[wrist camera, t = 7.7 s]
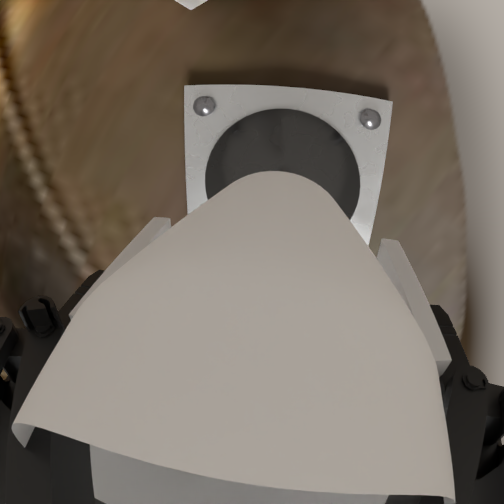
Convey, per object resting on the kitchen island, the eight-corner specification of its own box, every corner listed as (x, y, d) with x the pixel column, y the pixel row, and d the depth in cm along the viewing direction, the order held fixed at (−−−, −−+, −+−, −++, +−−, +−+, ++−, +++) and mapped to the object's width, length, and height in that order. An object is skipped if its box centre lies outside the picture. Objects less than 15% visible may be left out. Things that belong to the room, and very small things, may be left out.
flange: (194, 255, 27) (189, 264, 25) (189, 85, 19) (181, 85, 18) (358, 271, 25) (361, 281, 24) (388, 100, 18) (394, 101, 17)
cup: (393, 163, 12) (579, 429, 2) (343, 323, 16) (352, 547, 6) (183, 132, 12) (-81, 318, 2) (183, 297, 17) (92, 501, 7)
